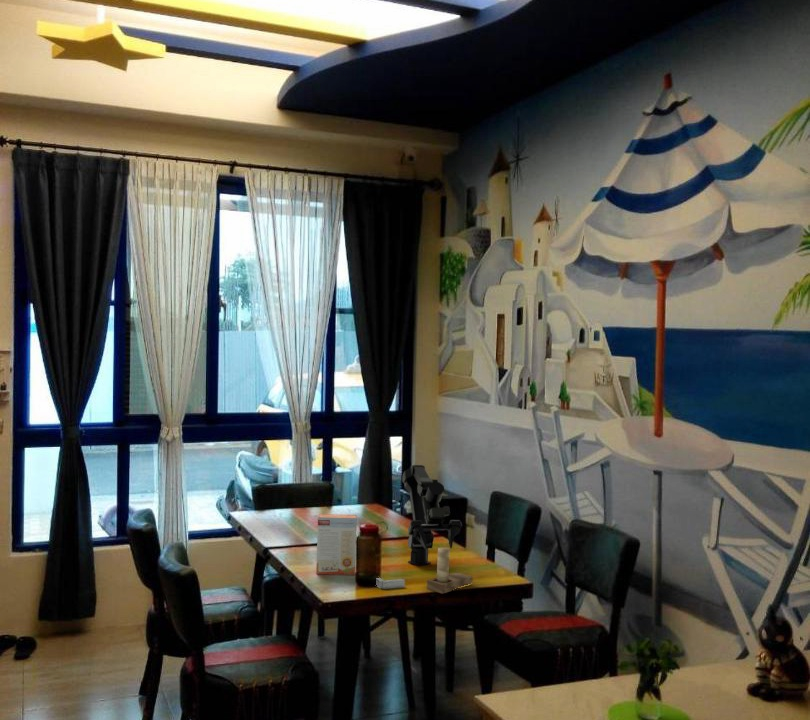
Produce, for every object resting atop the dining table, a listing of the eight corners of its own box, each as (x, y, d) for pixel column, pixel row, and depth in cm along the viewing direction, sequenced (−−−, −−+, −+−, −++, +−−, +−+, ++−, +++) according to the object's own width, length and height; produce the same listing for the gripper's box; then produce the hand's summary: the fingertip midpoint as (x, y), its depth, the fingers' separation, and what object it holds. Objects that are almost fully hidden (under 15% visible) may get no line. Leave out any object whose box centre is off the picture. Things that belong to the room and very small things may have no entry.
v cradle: (372, 581, 301) (372, 574, 301) (405, 586, 297) (405, 579, 297) (365, 586, 295) (365, 579, 295) (398, 591, 291) (399, 584, 290)
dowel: (441, 586, 298) (443, 546, 298) (450, 589, 295) (451, 549, 295) (433, 588, 295) (435, 548, 295) (442, 591, 293) (444, 550, 292)
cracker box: (355, 571, 314) (357, 514, 313) (354, 575, 308) (357, 517, 307) (316, 570, 313) (319, 513, 313) (315, 574, 307) (317, 516, 307)
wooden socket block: (456, 580, 307) (456, 572, 306) (471, 585, 302) (472, 576, 302) (426, 588, 295) (427, 580, 295) (442, 593, 290) (442, 584, 290)
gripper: (411, 497, 304) (417, 536, 294) (461, 497, 308) (469, 535, 298) (405, 515, 312) (411, 553, 302) (454, 515, 316) (462, 552, 306)
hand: (438, 548), depth 301 cm, fingers open, 9 cm apart
